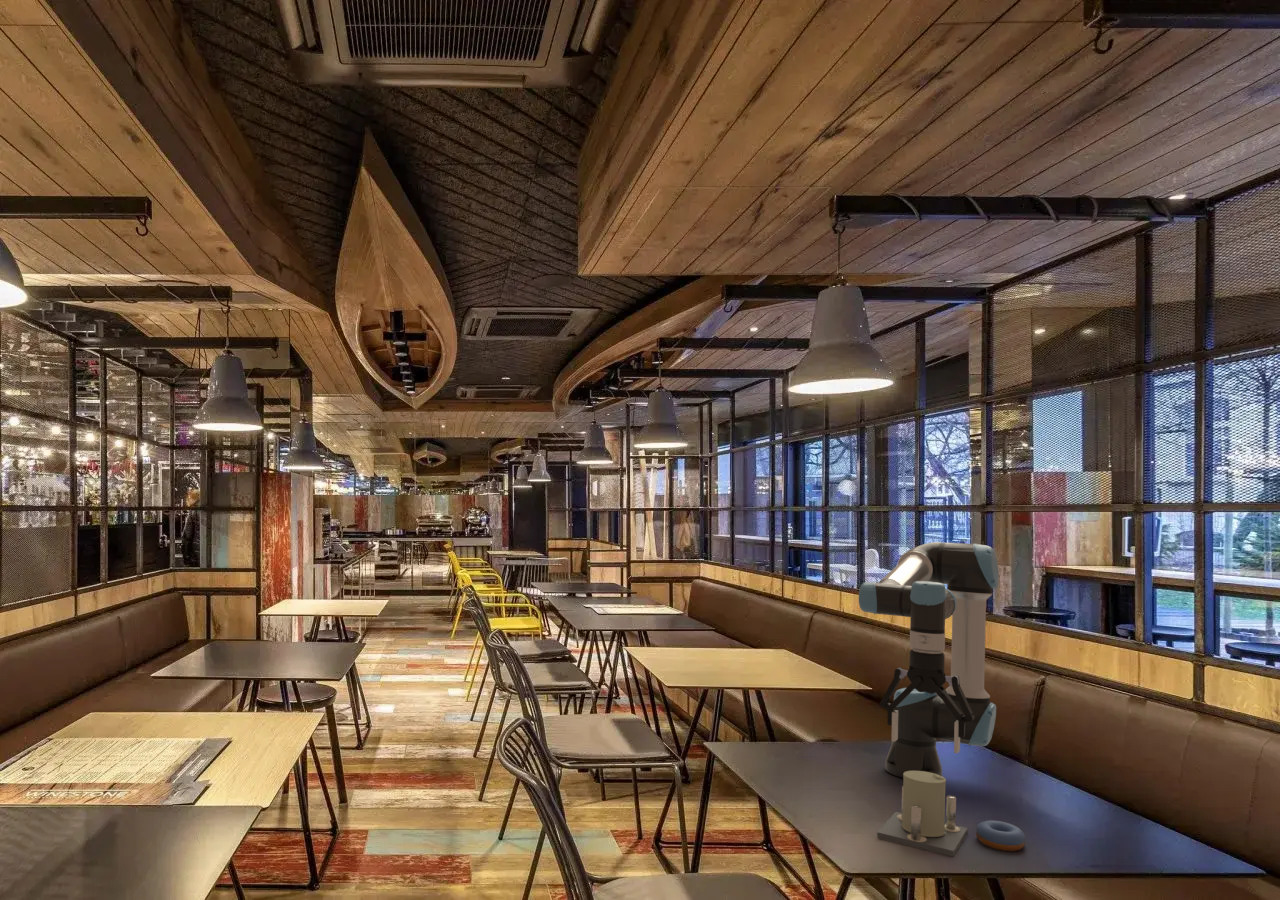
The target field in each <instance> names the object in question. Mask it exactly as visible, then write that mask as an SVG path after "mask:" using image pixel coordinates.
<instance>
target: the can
mask: <svg viewBox="0 0 1280 900" xmlns="http://www.w3.org/2000/svg"><path fill="white" fill-rule="evenodd" d="M902 779H903V781H902V782H903V785H902V786H903V819H902V828H903V829H904V830H906V831H908V832H910V833H911V812H912V805H918V806H921V836H925V837H940V836H943V835H944V834H945V823H946V821H945V820H946V814H945V813H946V785H947V784H946V783H947V779H946V777H944V776H943V775H942V776H940V775H938V774H935V773H930V772H925V771H906V772H904V773H903V778H902Z"/></svg>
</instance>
